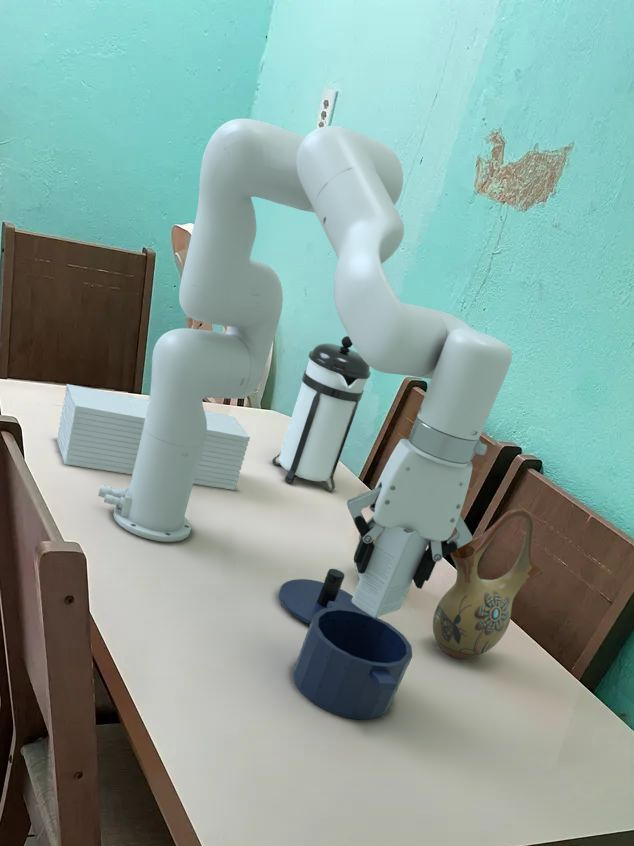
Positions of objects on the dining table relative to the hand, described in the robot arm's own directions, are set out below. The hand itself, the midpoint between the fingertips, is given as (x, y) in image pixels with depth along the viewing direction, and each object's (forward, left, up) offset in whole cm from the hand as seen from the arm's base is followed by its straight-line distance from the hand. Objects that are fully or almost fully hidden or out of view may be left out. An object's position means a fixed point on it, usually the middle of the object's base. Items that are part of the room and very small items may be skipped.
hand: (388, 575), depth 108 cm
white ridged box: (-32, +61, -18) cm, 71 cm away
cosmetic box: (0, 0, -5) cm, 5 cm away
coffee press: (-1, +80, -18) cm, 82 cm away
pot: (0, 0, -18) cm, 18 cm away
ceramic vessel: (+21, +18, -18) cm, 33 cm away
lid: (-1, +21, -17) cm, 27 cm away
